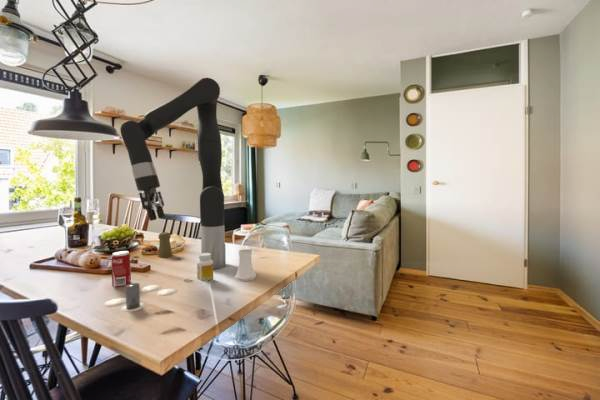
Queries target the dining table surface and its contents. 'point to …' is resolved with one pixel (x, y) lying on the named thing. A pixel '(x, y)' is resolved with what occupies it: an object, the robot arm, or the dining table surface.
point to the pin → (132, 296)
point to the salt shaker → (245, 266)
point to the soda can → (121, 269)
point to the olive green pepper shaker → (164, 245)
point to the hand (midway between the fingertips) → (157, 219)
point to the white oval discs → (146, 289)
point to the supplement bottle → (205, 267)
